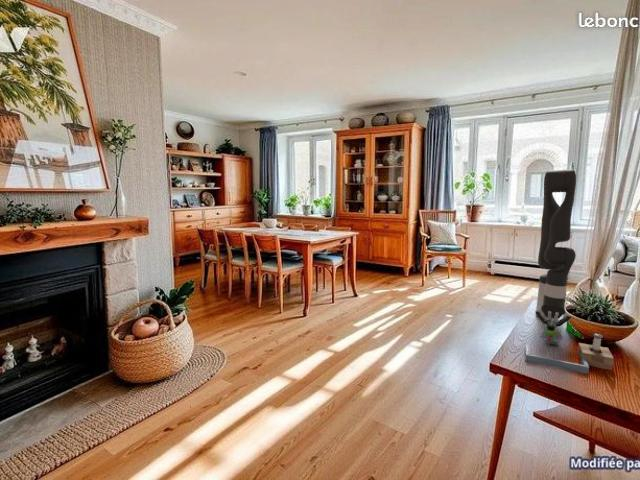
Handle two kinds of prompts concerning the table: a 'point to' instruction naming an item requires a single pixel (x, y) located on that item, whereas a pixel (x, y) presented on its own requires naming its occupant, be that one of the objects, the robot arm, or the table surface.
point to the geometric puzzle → (552, 336)
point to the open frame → (557, 362)
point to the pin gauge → (596, 342)
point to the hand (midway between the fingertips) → (550, 334)
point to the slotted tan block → (596, 356)
